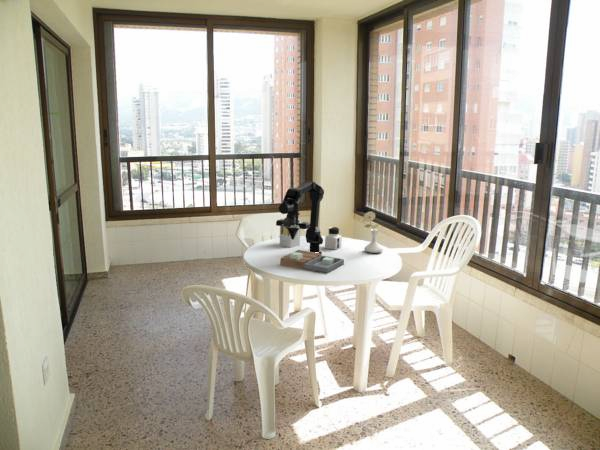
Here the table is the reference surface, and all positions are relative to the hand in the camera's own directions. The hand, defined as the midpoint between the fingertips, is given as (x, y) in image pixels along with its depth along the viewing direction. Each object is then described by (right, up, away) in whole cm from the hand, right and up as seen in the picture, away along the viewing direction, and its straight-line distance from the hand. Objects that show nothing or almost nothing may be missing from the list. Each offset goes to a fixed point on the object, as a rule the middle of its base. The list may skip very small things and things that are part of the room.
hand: (292, 239), depth 290 cm
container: (+25, -7, +36) cm, 44 cm away
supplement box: (-2, -5, +41) cm, 42 cm away
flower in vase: (+48, -9, +29) cm, 57 cm away
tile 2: (+20, -11, +1) cm, 22 cm away
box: (+17, -15, -3) cm, 23 cm away
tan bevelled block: (+5, -13, +4) cm, 14 cm away
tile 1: (+2, -10, -2) cm, 11 cm away
